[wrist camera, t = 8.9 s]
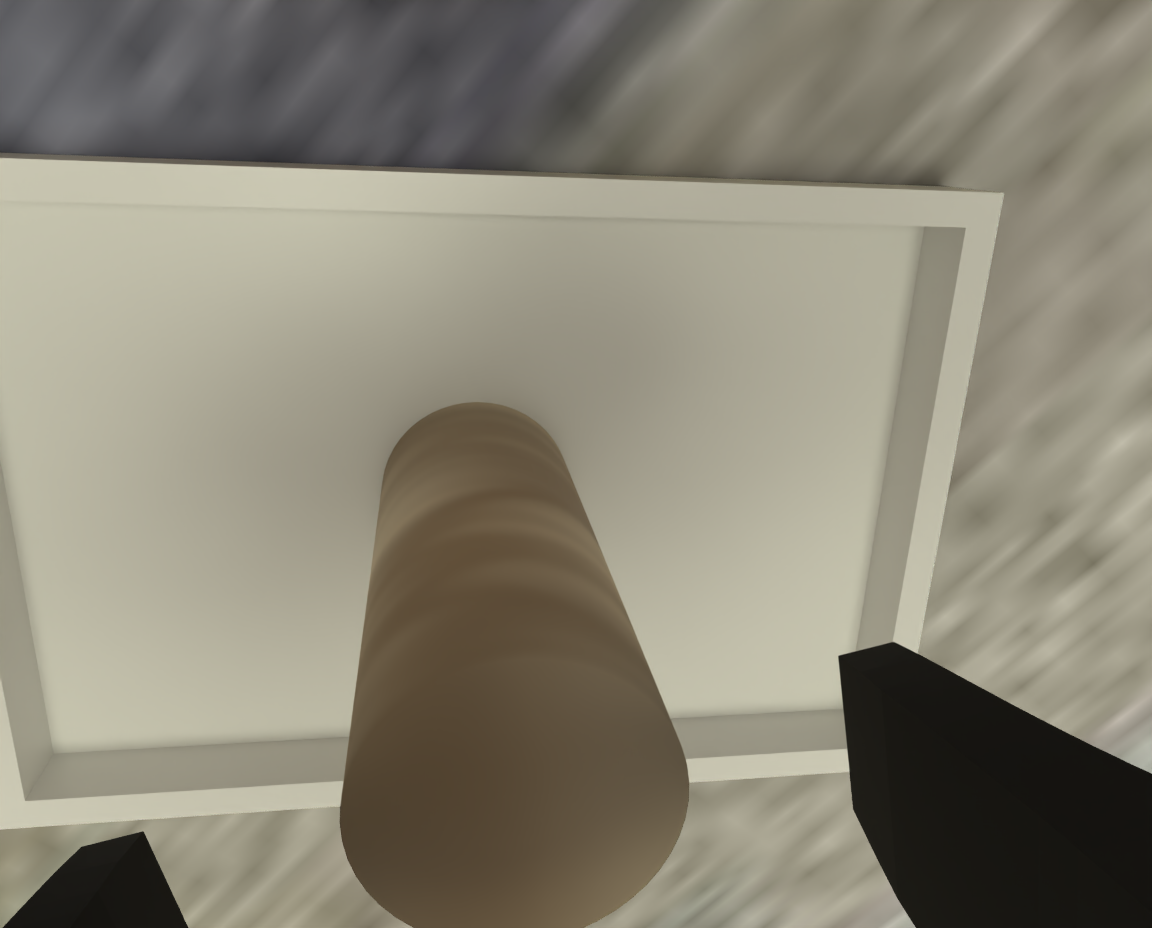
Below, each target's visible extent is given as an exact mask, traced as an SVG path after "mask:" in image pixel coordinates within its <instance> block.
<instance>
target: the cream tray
mask: <svg viewBox="0 0 1152 928" xmlns="http://www.w3.org/2000/svg"><path fill="white" fill-rule="evenodd" d="M1003 197H1004V193H1000V192H991V191H982V190H973V189H964V188H955V187H946V186H923V185H895V184H867V183H839V182H811V181H783V180H755V179H726V178H698V177H670V176H642V175H614V174H586V173H558V172H530V171H502V170H474V169H445V168H417V167H389V166H361V165H333V164H305V163H277V162H249V161H221V160H193V159H164V158H136V157H108V156H80V155H52V154H24V153H0V829H13V828H28V827H43V826H57V825H72V824H87V823H102V822H116V821H131V820H146V819H161V818H175V817H190V816H205V815H219V814H234V813H249V812H264V811H278V810H293V809H308V808H323V807H337V806H340V805H341V796H342V788H343V781H344V773H345V765H346V758H347V750H348V742H349V735H350V727H351V719H352V712H353V704H354V696H355V688H356V681H357V673H358V665H359V658H360V650H361V642H362V635H363V627H364V619H365V612H366V604H367V596H368V589H369V581H370V573H371V566H372V558H373V550H374V542H375V535H376V527H377V519H378V512H379V504H380V496H381V489H382V481H383V476H384V471H385V467H386V464H387V461H388V459H389V457H390V455H391V453H392V451H393V449H394V447H395V446H396V444H397V443H398V441H399V440H400V438H401V437H402V436H403V435H404V434H405V433H406V432H407V431H408V430H409V429H410V428H411V427H412V426H413V425H414V424H416V423H417V422H418V421H419V420H421V419H423V418H424V417H426V416H427V415H429V414H431V413H433V412H435V411H437V410H440V409H442V408H445V407H448V406H452V405H456V404H461V403H470V402H484V403H493V404H498V405H503V406H506V407H509V408H512V409H515V410H517V411H519V412H521V413H523V414H525V415H527V416H528V417H530V418H531V419H533V420H534V421H536V422H537V423H538V424H539V425H540V426H542V427H543V428H544V429H545V430H546V431H547V433H548V434H549V435H550V436H551V437H552V438H553V440H554V442H555V443H556V445H557V446H558V448H559V450H560V452H561V454H562V456H563V458H564V461H565V463H566V466H567V468H568V471H569V473H570V475H571V478H572V480H573V483H574V485H575V488H576V490H577V493H578V495H579V497H580V500H581V502H582V505H583V507H584V510H585V512H586V514H587V517H588V519H589V522H590V524H591V527H592V529H593V531H594V534H595V536H596V539H597V541H598V544H599V546H600V549H601V551H602V553H603V556H604V558H605V561H606V563H607V566H608V568H609V570H610V573H611V575H612V578H613V580H614V583H615V585H616V588H617V590H618V592H619V595H620V597H621V600H622V602H623V605H624V607H625V609H626V612H627V614H628V617H629V619H630V622H631V624H632V626H633V629H634V631H635V634H636V636H637V639H638V641H639V644H640V646H641V648H642V651H643V653H644V656H645V658H646V661H647V663H648V665H649V668H650V670H651V673H652V675H653V678H654V680H655V683H656V685H657V687H658V690H659V692H660V695H661V697H662V700H663V702H664V704H665V707H666V709H667V712H668V714H669V717H670V719H671V721H672V724H673V726H674V729H675V731H676V734H677V736H678V739H679V741H680V743H681V746H682V749H683V752H684V756H685V759H686V762H687V768H688V776H689V783H691V782H706V781H720V780H735V779H750V778H765V777H779V776H794V775H809V774H824V773H838V772H850V771H849V761H848V751H847V741H846V731H845V721H844V711H843V701H842V690H841V680H840V670H839V660H838V656H839V655H843V654H847V653H851V652H855V651H859V650H863V649H867V648H871V647H875V646H879V645H883V644H886V643H890V642H895V643H897V644H899V645H901V646H903V647H905V648H907V649H909V650H911V651H913V652H915V653H917V654H918V649H919V643H920V638H921V633H922V627H923V622H924V617H925V612H926V606H927V601H928V596H929V590H930V585H931V580H932V574H933V569H934V564H935V558H936V553H937V548H938V542H939V537H940V532H941V527H942V521H943V516H944V511H945V505H946V500H947V495H948V489H949V484H950V479H951V473H952V468H953V463H954V458H955V452H956V447H957V442H958V436H959V431H960V426H961V420H962V415H963V410H964V404H965V399H966V394H967V389H968V383H969V378H970V373H971V367H972V362H973V357H974V351H975V346H976V341H977V335H978V330H979V325H980V319H981V314H982V309H983V304H984V298H985V293H986V288H987V282H988V277H989V272H990V266H991V261H992V256H993V250H994V245H995V240H996V235H997V229H998V224H999V219H1000V213H1001V208H1002V203H1003Z"/></svg>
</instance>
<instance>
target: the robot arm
mask: <svg viewBox="0 0 1152 928" xmlns="http://www.w3.org/2000/svg"><path fill="white" fill-rule="evenodd" d="M838 660H839V670H840V680H841V690H842V701H843V711H844V721H845V731H846V741H847V751H848V761H849V771H850V781H851V792H852V802H853V810H854V812H855V814H856V816H857V818H858V820H859V822H860V824H861V826H862V828H863V830H864V832H865V834H866V837H867V839H868V841H869V843H870V845H871V847H872V849H873V851H874V853H875V855H876V857H877V859H878V861H879V863H880V865H881V867H882V869H883V871H884V873H885V875H886V877H887V879H888V881H889V883H890V885H891V887H892V889H893V890H894V892H895V894H896V896H897V898H898V900H899V902H900V903H901V905H902V906H903V908H904V910H905V911H906V913H907V914H908V916H909V917H910V919H911V921H912V922H913V924H914V925H915V927H916V928H1152V774H1151V773H1149V772H1147V771H1145V770H1142V769H1140V768H1138V767H1136V766H1134V765H1131V764H1129V763H1127V762H1125V761H1123V760H1121V759H1119V758H1117V757H1115V756H1113V755H1111V754H1109V753H1107V752H1104V751H1102V750H1100V749H1098V748H1096V747H1094V746H1092V745H1090V744H1088V743H1086V742H1084V741H1082V740H1080V739H1078V738H1076V737H1074V736H1072V735H1070V734H1068V733H1066V732H1064V731H1062V730H1060V729H1058V728H1056V727H1054V726H1052V725H1050V724H1048V723H1047V722H1045V721H1043V720H1041V719H1039V718H1037V717H1035V716H1033V715H1031V714H1029V713H1027V712H1025V711H1023V710H1022V709H1020V708H1018V707H1016V706H1014V705H1012V704H1010V703H1008V702H1006V701H1004V700H1003V699H1001V698H999V697H997V696H995V695H993V694H991V693H990V692H988V691H986V690H984V689H982V688H980V687H978V686H977V685H975V684H973V683H971V682H969V681H967V680H965V679H964V678H962V677H960V676H958V675H956V674H954V673H953V672H951V671H949V670H947V669H945V668H943V667H941V666H940V665H938V664H936V663H934V662H932V661H930V660H928V659H927V658H925V657H923V656H921V655H919V654H917V653H915V652H913V651H911V650H909V649H907V648H905V647H903V646H901V645H899V644H897V643H895V642H890V643H886V644H883V645H879V646H875V647H871V648H867V649H863V650H859V651H855V652H851V653H847V654H843V655H839V656H838ZM3 928H188V926H187V924H186V922H185V920H184V918H183V915H182V913H181V911H180V909H179V907H178V905H177V903H176V900H175V898H174V896H173V894H172V892H171V890H170V887H169V885H168V883H167V881H166V879H165V877H164V875H163V872H162V870H161V868H160V866H159V864H158V862H157V860H156V857H155V855H154V853H153V851H152V849H151V847H150V844H149V842H148V840H147V838H146V836H145V834H144V832H139V833H135V834H131V835H127V836H123V837H119V838H115V839H111V840H107V841H103V842H99V843H95V844H91V845H87V846H83V847H81V848H80V849H79V850H78V851H77V852H76V853H75V854H74V855H73V856H72V857H70V858H69V859H68V860H67V861H66V862H65V863H64V864H63V865H62V866H61V867H60V868H59V869H58V870H57V871H56V872H55V873H54V874H53V875H52V876H51V877H50V878H49V879H48V880H47V881H46V882H45V883H44V884H43V885H42V887H41V888H40V889H39V890H38V891H37V892H36V893H35V894H34V895H33V896H32V897H31V898H30V899H29V900H28V901H27V902H26V903H25V904H24V905H23V907H22V908H21V909H20V910H19V911H18V912H17V913H16V914H15V915H14V916H13V917H12V918H11V919H10V920H9V921H8V923H7V924H6V925H5V926H4V927H3Z"/></svg>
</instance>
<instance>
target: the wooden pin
mask: <svg viewBox="0 0 1152 928" xmlns="http://www.w3.org/2000/svg"><path fill="white" fill-rule="evenodd" d="M688 802H689V776H688V768H687V762H686V759H685V756H684V752H683V749H682V746H681V743H680V741H679V739H678V736H677V734H676V731H675V729H674V726H673V724H672V721H671V719H670V717H669V714H668V712H667V709H666V707H665V704H664V702H663V700H662V697H661V695H660V692H659V690H658V687H657V685H656V683H655V680H654V678H653V675H652V673H651V670H650V668H649V665H648V663H647V661H646V658H645V656H644V653H643V651H642V648H641V646H640V644H639V641H638V639H637V636H636V634H635V631H634V629H633V626H632V624H631V622H630V619H629V617H628V614H627V612H626V609H625V607H624V605H623V602H622V600H621V597H620V595H619V592H618V590H617V588H616V585H615V583H614V580H613V578H612V575H611V573H610V570H609V568H608V566H607V563H606V561H605V558H604V556H603V553H602V551H601V549H600V546H599V544H598V541H597V539H596V536H595V534H594V531H593V529H592V527H591V524H590V522H589V519H588V517H587V514H586V512H585V510H584V507H583V505H582V502H581V500H580V497H579V495H578V493H577V490H576V488H575V485H574V483H573V480H572V478H571V475H570V473H569V471H568V468H567V466H566V463H565V461H564V458H563V456H562V454H561V452H560V450H559V448H558V446H557V445H556V443H555V442H554V440H553V438H552V437H551V436H550V435H549V434H548V433H547V431H546V430H545V429H544V428H543V427H542V426H540V425H539V424H538V423H537V422H536V421H534V420H533V419H531V418H530V417H528V416H527V415H525V414H523V413H521V412H519V411H517V410H515V409H512V408H509V407H506V406H503V405H498V404H493V403H484V402H470V403H461V404H456V405H452V406H448V407H445V408H442V409H440V410H437V411H435V412H433V413H431V414H429V415H427V416H426V417H424V418H423V419H421V420H419V421H418V422H417V423H416V424H414V425H413V426H412V427H411V428H410V429H409V430H408V431H407V432H406V433H405V434H404V435H403V436H402V437H401V438H400V440H399V441H398V443H397V444H396V446H395V447H394V449H393V451H392V453H391V455H390V457H389V459H388V461H387V464H386V467H385V471H384V476H383V481H382V489H381V496H380V504H379V512H378V519H377V527H376V535H375V542H374V550H373V558H372V566H371V573H370V581H369V589H368V596H367V604H366V612H365V619H364V627H363V635H362V642H361V650H360V658H359V665H358V673H357V681H356V688H355V696H354V704H353V712H352V719H351V727H350V735H349V742H348V750H347V758H346V765H345V773H344V781H343V788H342V796H341V805H340V828H341V836H342V842H343V846H344V849H345V852H346V855H347V859H348V861H349V863H350V865H351V867H352V869H353V871H354V873H355V875H356V877H357V878H358V880H359V881H360V883H361V884H362V885H363V887H364V888H365V890H366V891H367V892H368V893H369V894H370V895H371V896H372V897H373V898H374V899H375V900H376V901H377V903H378V904H379V905H380V906H382V907H383V908H384V909H386V910H387V911H388V912H389V913H391V914H392V915H393V916H395V917H396V918H398V919H399V920H401V921H403V922H405V923H406V924H408V925H410V926H412V927H413V928H584V927H586V926H588V925H590V924H592V923H594V922H597V921H598V920H600V919H602V918H603V917H605V916H607V915H609V914H610V913H612V912H614V911H615V910H617V909H618V908H619V907H621V906H622V905H623V904H625V903H626V902H628V901H629V900H630V899H632V898H633V897H634V896H635V895H636V894H637V893H638V892H639V891H640V890H641V889H643V888H644V887H645V886H646V885H647V884H648V883H649V881H650V880H651V879H652V878H653V877H654V876H655V875H656V873H657V872H658V871H659V870H660V869H661V867H662V866H663V864H664V863H665V861H666V860H667V858H668V857H669V855H670V854H671V852H672V850H673V848H674V846H675V844H676V842H677V840H678V838H679V836H680V833H681V830H682V827H683V824H684V821H685V818H686V812H687V807H688Z"/></svg>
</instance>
